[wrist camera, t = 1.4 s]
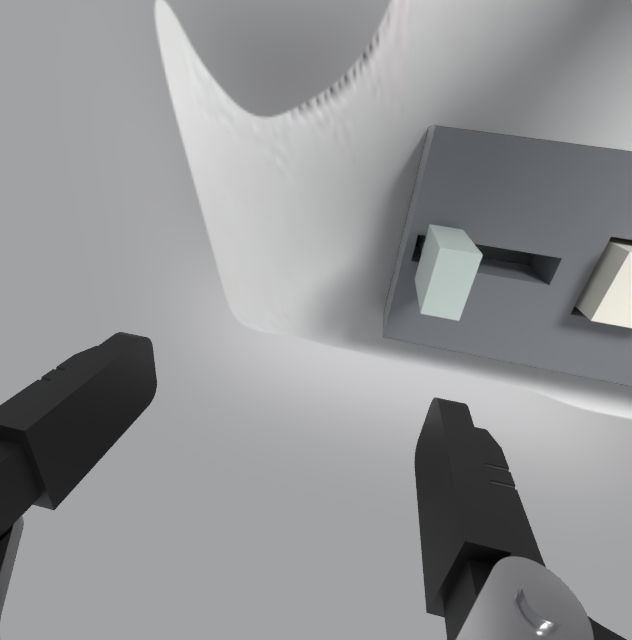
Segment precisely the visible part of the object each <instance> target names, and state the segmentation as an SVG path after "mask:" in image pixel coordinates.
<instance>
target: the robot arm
mask: <svg viewBox="0 0 632 640" xmlns="http://www.w3.org/2000/svg"><path fill="white" fill-rule="evenodd" d="M156 388H157V380H156V371H155V363H154V354H153V347H152V342H151V340H150V339H149V338H147V337H142V336H137V335H133V334H128V333H123V332H119V333H116V334H114V335H113V336H112V337H110V338H109V339H107V340H106V341H105V342H103V343H102V344H100V345H99V346H95V347H93V348H90V349H88V350H85V351H83V352H80V353H78V354H75V355H73V356H72V357H70V358H69V359H67V360H66V361H65V362H63V363H62V364H60V365H59V366H57V368H56V370H54V369H53V370H52V371H50V372H48V373H47V374H46V375H44V376H42V379H41V380H37V381H35V382H34V383H32V384H31V385H30V386H28V387H26V388H25V389H23V390H22V391H21V392H19V393H18V394H16V395H15V396H13V397H12V398H10V399H9V400H7V401H6V402H5V403H3V404H2V405H0V619H1V614H2V610H3V606H4V602H5V598H6V594H7V590H8V586H9V582H10V578H11V574H12V570H13V566H14V562H15V558H16V554H17V550H18V546H19V542H20V539H21V535H22V531H23V525H24V520H23V517H22V515H23V514H24V513H25V511H27V510H28V508H30V506H31V505H32V504H33V505H37V506H40V507H44V508H48V509H51V510H55V509H56V508H57V507H58V505H59V504H60V503H61V502H62V501H63V500H64V499H65V498H66V497H67V495H68V494H69V493H70V492H71V491H72V490H73V489H74V488H75V487H76V485H77V484H78V483H79V482H80V481H81V480H82V479H83V478H84V477H85V476H86V474H87V473H88V472H89V471H90V470H91V469H92V468H93V467H94V466H95V464H96V463H97V462H98V461H99V460H100V459H101V458H102V457H103V456H104V455H105V453H106V452H107V451H108V450H109V449H110V448H111V447H112V446H113V444H114V443H115V442H116V441H117V440H118V439H119V438H120V437H121V436H122V435H123V433H124V432H125V431H126V430H127V429H128V428H129V427H130V426H131V425H132V424H133V422H134V421H135V420H136V419H137V418H138V417H139V416H140V415H141V413H142V412H143V411H144V410H145V409H146V408H147V407H148V406H149V405H150V403H151V401H152V400H153V398H154V396H155V393H156ZM508 470H509V467H508V464H507V462H506V459H505V456H504V454H503V451H502V448H501V447H500V446H499V445H498V443H497V442H496V441H495V440H494V438H493V437H492V436H491V435H490V434H489V432H488V431H487V430H485V429H481V428H476V427H474V425H473V421H472V418H471V415H470V411H469V408H468V406H467V405H466V404H464V403H459V402H454V401H450V400H445V399H440V398H434V399H433V400H432V402H431V405H430V407H429V410H428V413H427V416H426V419H425V422H424V425H423V427H422V431H421V433H420V436H419V439H418V442H417V446H416V452H415V476H416V488H417V500H418V512H419V525H420V536H421V549H422V562H423V574H424V586H425V598H426V611H427V613H430V614H434V615H438V616H441V617H445V623H446V632H447V640H626V639H624V638H622V637H621V636H619V635H617V634H616V633H614V632H612V631H610V630H609V629H607V628H605V627H603V626H602V625H600V624H599V623H597V622H595V621H593V620H592V619H591V618H590V617H588V616H587V614H586V612H585V610H584V608H583V607H582V605H581V603H580V602H579V600H578V599H577V597H576V596H575V595H574V593H573V592H572V591H571V590H570V589H569V587H568V586H567V585H566V584H565V583H564V582H563V581H562V580H561V579H560V578H559V577H557V576H556V575H555V574H554V573H553V572H551V571H550V570H548V569H547V568H546V566H545V564H544V562H543V559H542V557H541V554H540V551H539V549H538V546H537V543H536V541H535V538H534V535H533V532H532V530H531V527H530V524H529V521H528V519H527V516H526V513H525V511H524V508H523V505H522V502H521V500H520V497H519V494H518V492H517V490H515V484H514V481H513V478H512V475H511V473H510V472H509V471H508Z"/></svg>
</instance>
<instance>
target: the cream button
mask: <svg viewBox="0 0 632 640" xmlns="http://www.w3.org/2000/svg"><path fill="white" fill-rule="evenodd" d="M575 307H576V308H577V309H579V310H580V311H581V312H582V313H583V314H584V315H585V316H586V317H587V318H588V319H589V320H591V321H595V322H600V323H606V324H611V325H617V326H622V327H628V328H632V240H627V239H621V238H615V237H611V238H610V240H609V242H608V243H607V245H606V247H605V249H604V251H603V253H602V255H601V257H600V259H599V261H598V262H597V264H596V266H595V268H594V270H593V272H592V274H591V276H590V278H589V280H588V281H587V283H586V285H585V287H584V289H583V291H582V293H581V295H580V297H579V299H578V300H577V302H576V304H575Z"/></svg>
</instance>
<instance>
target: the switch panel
mask: <svg viewBox="0 0 632 640" xmlns="http://www.w3.org/2000/svg"><path fill="white" fill-rule="evenodd" d="M429 224H432V225H438V226H444V227H450V228H456V229H462V230H464V231H465V233H466V234H467V235H468V236H469V238H470V239H471V240H472V242H473V243H474V244H479V245H485V246H491V247H497V248H503V249H509V250H515V251H521V252H527V253H533V255H532V258H531V260H530V262H529V265H523V264H517V263H511V262H505V261H499V260H494V259H488V258H482V259H481V261H480V264H479V267H478V270H477V273H476V275H475V278H474V281H473V284H472V286H471V289H470V292H469V295H468V298H467V300H466V303H465V306H464V309H463V311H462V314H461V317H460V320H459V321H457V320H452V319H447V318H441V317H436V316H431V315H425V314H421V313H420V308H419V302H418V296H417V290H416V284H415V276H416V272H417V268H418V265H419V261H420V257H421V255H420V251H419V247H417V246H415V245H416V241H417V237H418V235H424V236H426V235H427V232H428V228H429ZM611 237H617V238H623V239H630V240H632V151H625V150H617V149H610V148H602V147H594V146H587V145H579V144H572V143H564V142H557V141H549V140H542V139H534V138H527V137H519V136H511V135H504V134H496V133H489V132H481V131H474V130H466V129H459V128H451V127H444V126H436V125H435V126H431V127H429V128H428V132H427V136H426V140H425V144H424V149H423V153H422V157H421V161H420V165H419V169H418V174H417V178H416V182H415V186H414V190H413V194H412V199H411V203H410V207H409V211H408V215H407V219H406V224H405V228H404V232H403V236H402V240H401V244H400V249H399V253H398V257H397V261H396V265H395V269H394V274H393V278H392V282H391V286H390V290H389V294H388V298H387V303H386V307H385V311H384V322H383V337H385V338H390V339H395V340H400V341H405V342H410V343H415V344H420V345H425V346H430V347H435V348H440V349H445V350H450V351H455V352H460V353H465V354H470V355H476V356H481V357H486V358H491V359H496V360H501V361H506V362H511V363H516V364H521V365H526V366H531V367H536V368H541V369H546V370H551V371H556V372H562V373H567V374H572V375H577V376H582V377H587V378H592V379H597V380H602V381H607V382H612V383H617V384H622V385H627V386H632V328H628V327H622V326H617V325H611V324H606V323H600V322H595V321H591V320H589V319H588V318H587V317H586V316H585V315H584V314H583V313H582V312H581V311H580V310H579V309H577V308H576V307H575V304H576V302H577V300H578V299H579V297H580V295H581V293H582V291H583V289H584V287H585V285H586V283H587V281H588V280H589V278H590V276H591V274H592V272H593V270H594V268H595V266H596V264H597V262H598V261H599V259H600V257H601V255H602V253H603V251H604V249H605V247H606V245H607V243H608V242H609V240H610V238H611Z"/></svg>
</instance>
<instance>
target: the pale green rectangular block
mask: <svg viewBox="0 0 632 640" xmlns="http://www.w3.org/2000/svg"><path fill="white" fill-rule="evenodd" d="M418 247H419V251H420V255H421V257H420V261H419V265H418V268H417V272H416V276H415V284H416V290H417V296H418V302H419V308H420V313H421V314H425V315H431V316H436V317H441V318H447V319H452V320H457V321H459V320H460V317H461V314H462V311H463V309H464V306H465V303H466V300H467V298H468V295H469V292H470V289H471V286H472V284H473V281H474V278H475V275H476V273H477V270H478V267H479V264H480V261H481V259H482V256H483V254H482V253H481V252H480V250H479V249H478V248H477V247H476V245H475V244H474V243H473V242H472V240H471V239H470V238H469V236H468V235H467V234H466V233H465V231H464V230H462V229H456V228H450V227H444V226H438V225H432V224H429V228H428V232H427V235H426V236H424V235H420V237H419V241H418Z"/></svg>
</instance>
